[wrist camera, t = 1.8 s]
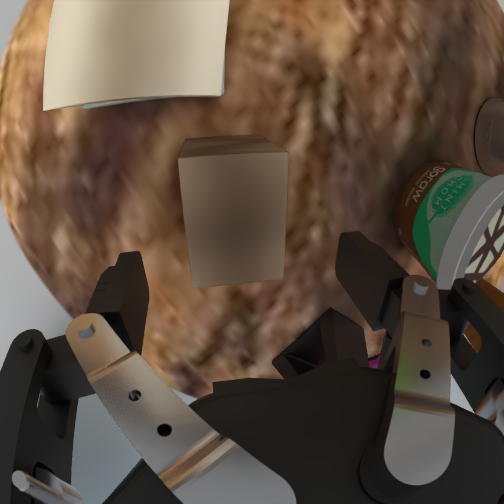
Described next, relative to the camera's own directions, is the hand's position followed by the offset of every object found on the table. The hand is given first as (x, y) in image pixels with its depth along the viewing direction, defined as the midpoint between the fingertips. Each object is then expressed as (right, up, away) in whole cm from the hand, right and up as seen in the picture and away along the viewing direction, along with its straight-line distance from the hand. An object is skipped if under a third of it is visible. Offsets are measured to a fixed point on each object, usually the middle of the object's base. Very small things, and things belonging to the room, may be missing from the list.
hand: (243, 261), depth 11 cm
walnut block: (-2, +5, +9) cm, 10 cm away
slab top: (-5, +14, -1) cm, 15 cm away
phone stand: (+7, -10, +19) cm, 23 cm away
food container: (+15, +6, +12) cm, 20 cm away
